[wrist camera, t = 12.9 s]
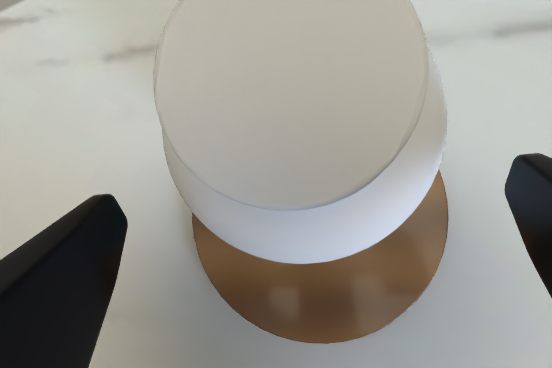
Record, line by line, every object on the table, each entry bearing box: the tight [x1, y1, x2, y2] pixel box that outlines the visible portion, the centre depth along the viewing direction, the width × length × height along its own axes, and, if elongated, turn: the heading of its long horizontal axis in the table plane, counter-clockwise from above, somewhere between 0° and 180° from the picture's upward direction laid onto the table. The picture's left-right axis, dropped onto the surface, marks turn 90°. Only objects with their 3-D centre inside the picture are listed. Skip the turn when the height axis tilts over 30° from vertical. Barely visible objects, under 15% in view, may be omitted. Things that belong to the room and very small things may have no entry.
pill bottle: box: [154, 0, 447, 264], centre depth 13 cm, size 8×7×14 cm
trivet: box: [192, 169, 448, 344], centre depth 19 cm, size 14×14×1 cm
